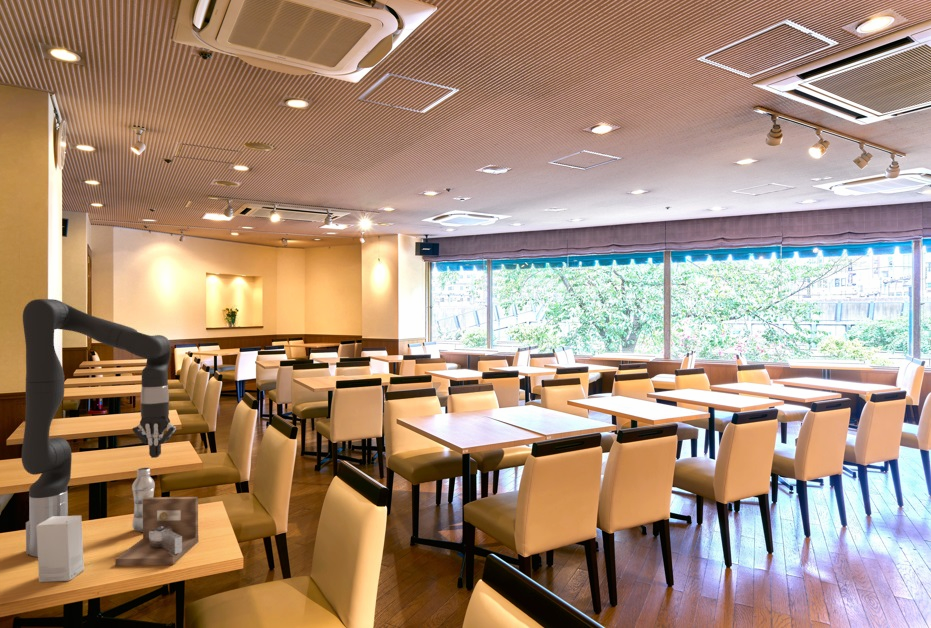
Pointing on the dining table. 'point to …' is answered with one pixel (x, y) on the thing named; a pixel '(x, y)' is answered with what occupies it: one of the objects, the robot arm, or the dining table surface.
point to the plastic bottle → (141, 495)
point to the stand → (168, 513)
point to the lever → (165, 539)
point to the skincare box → (60, 548)
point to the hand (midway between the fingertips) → (155, 457)
